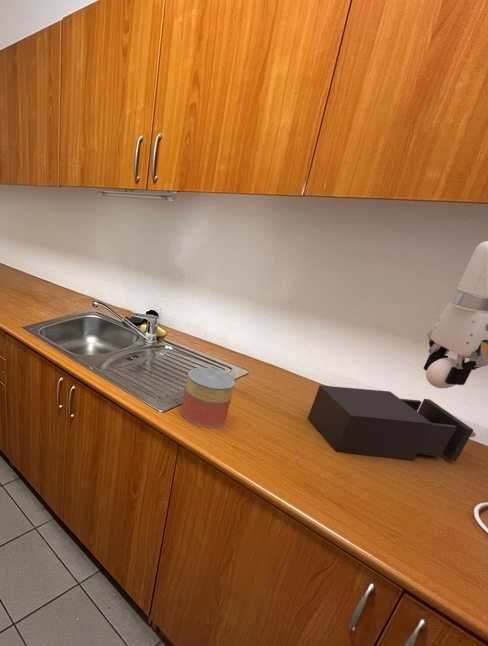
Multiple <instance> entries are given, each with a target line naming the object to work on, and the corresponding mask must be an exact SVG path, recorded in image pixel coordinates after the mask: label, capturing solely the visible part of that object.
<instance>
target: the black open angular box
mask: <svg viewBox="0 0 488 646" xmlns="http://www.w3.org/2000/svg"><path fill="white" fill-rule="evenodd" d="M400 399H401V400H402V401H403V402H405V403H406V404H407V405H409V406H410V407H411V408H413V409H414V410H415V411H417V412H418V413H419V414H420V415H422V416H423V417H424V418H426V419H427V420H428V421H430V422H431V423H432V426H431V428H430V430H429V432H428V434H427V436H426V438H425V440H424V442H423V443H422V445H421V447H420V449H419V451H418V453H417V455H424V456H433V457H442V456H444V457H445V458H446V459H447V460H448V461H451V462H457V461H458V459H459V457H460V455H461V453H462V451H463V450H464V449H465V446H466V445H467V443H468V441H469V439H470V438H474V437H476V435H477V433H476V432H475V431H474V429H473V428H472V427H470V426H469V425H467V424H466V423H465V422H463V421H462V420H460V419H459V418H457V417H456V416H455V415H453V414H452V413H450V412H449V411H447V410H446V409H444V408H443V407H442V406H440V405H439V404H438V403H436V402H435V401H433V400H431V399H429V398H423V400H422V401H421V400H420V399H419V400H418V399H409V398H400Z"/></svg>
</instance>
